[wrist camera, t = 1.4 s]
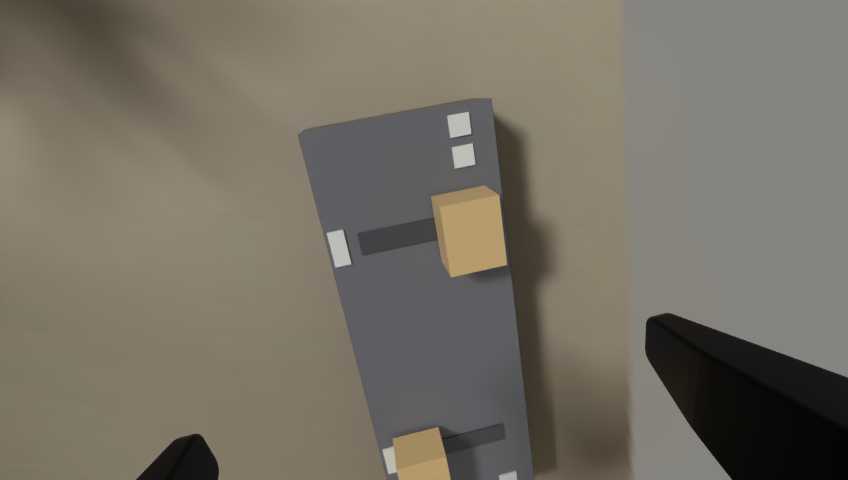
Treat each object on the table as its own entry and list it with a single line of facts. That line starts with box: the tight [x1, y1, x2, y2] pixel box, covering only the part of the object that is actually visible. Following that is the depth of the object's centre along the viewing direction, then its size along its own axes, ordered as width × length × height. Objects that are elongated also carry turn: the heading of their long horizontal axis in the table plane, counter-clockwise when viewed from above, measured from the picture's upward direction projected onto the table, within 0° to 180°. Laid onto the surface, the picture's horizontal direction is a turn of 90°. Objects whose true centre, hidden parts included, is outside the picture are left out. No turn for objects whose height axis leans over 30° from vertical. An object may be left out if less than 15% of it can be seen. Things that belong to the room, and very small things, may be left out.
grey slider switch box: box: [298, 98, 534, 480], centre depth 23 cm, size 22×8×3 cm, turn 10°
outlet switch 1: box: [393, 427, 451, 480], centre depth 22 cm, size 3×2×2 cm
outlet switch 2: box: [431, 185, 507, 277], centre depth 18 cm, size 3×2×2 cm
